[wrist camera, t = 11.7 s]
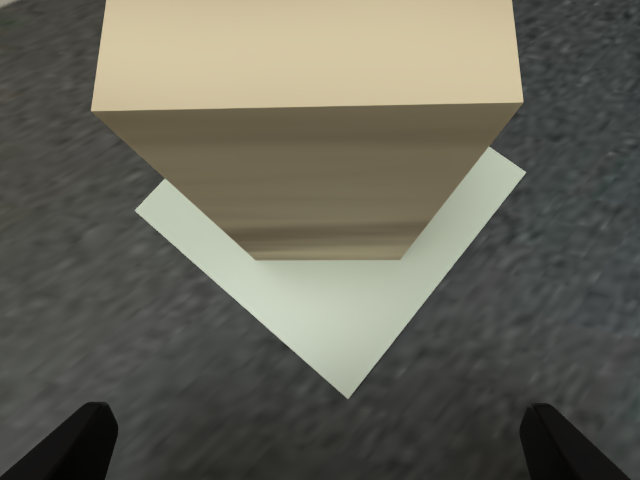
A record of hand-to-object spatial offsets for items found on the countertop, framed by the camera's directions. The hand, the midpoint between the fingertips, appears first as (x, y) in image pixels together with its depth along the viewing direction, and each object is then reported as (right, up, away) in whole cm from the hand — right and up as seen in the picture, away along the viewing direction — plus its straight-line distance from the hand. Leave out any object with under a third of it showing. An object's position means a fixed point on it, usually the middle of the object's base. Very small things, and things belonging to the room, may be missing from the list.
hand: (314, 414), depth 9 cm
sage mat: (+1, +6, +10) cm, 11 cm away
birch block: (0, +6, +9) cm, 11 cm away
